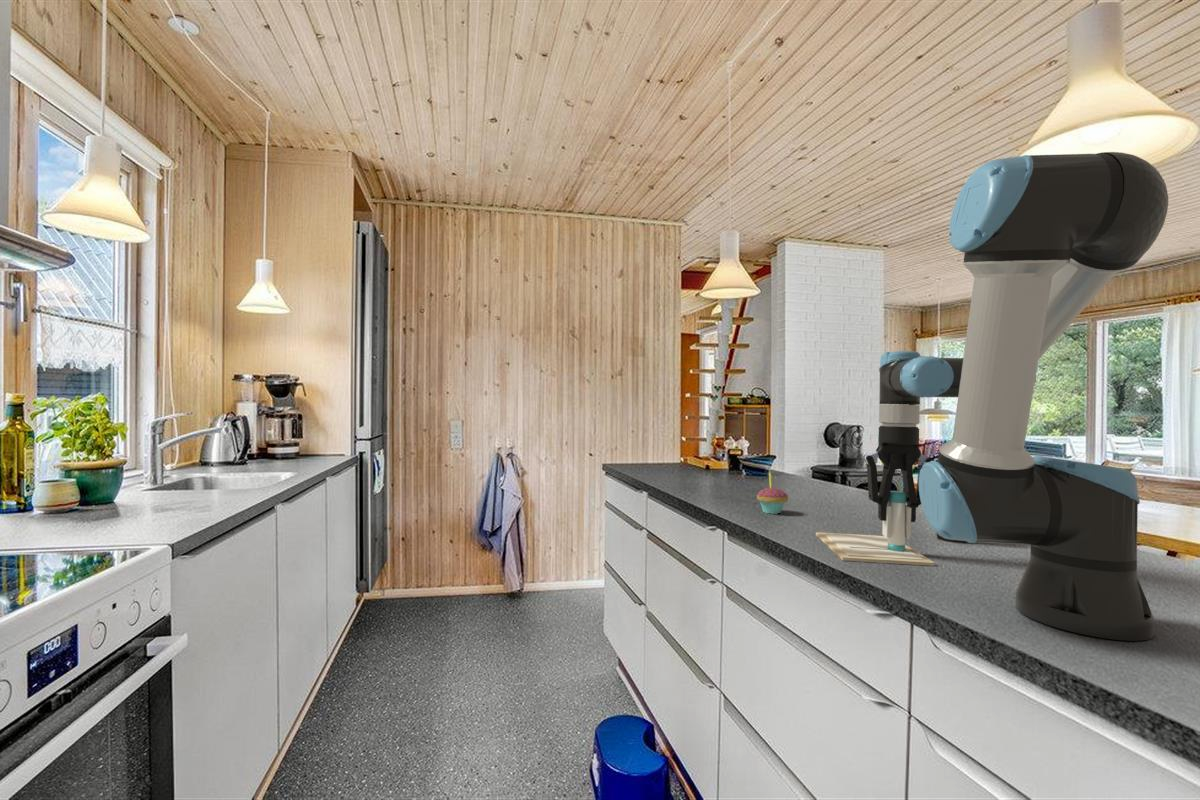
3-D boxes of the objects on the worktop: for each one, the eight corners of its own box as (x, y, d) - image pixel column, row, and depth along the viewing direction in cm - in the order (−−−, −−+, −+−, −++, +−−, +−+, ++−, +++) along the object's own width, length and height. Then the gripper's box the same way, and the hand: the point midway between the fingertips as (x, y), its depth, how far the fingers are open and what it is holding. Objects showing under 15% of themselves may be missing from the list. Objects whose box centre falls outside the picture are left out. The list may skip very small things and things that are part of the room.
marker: (908, 551, 112) (908, 493, 112) (890, 550, 113) (891, 492, 113) (901, 548, 116) (902, 491, 116) (884, 546, 116) (885, 490, 116)
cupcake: (752, 509, 160) (752, 469, 160) (779, 509, 161) (780, 469, 161) (764, 515, 152) (764, 472, 152) (793, 515, 152) (793, 472, 153)
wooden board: (935, 566, 105) (935, 561, 105) (842, 560, 108) (842, 556, 108) (891, 538, 127) (892, 535, 127) (815, 534, 130) (815, 531, 130)
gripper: (932, 425, 117) (929, 534, 117) (852, 423, 119) (850, 530, 119) (949, 427, 109) (946, 543, 109) (863, 425, 112) (861, 538, 112)
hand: (896, 536), depth 114 cm, fingers closed on marker, 3 cm apart
